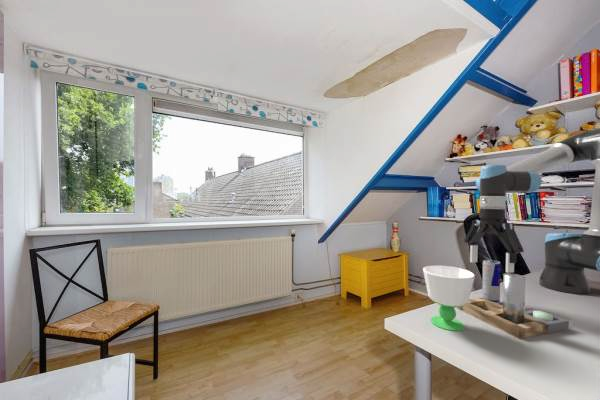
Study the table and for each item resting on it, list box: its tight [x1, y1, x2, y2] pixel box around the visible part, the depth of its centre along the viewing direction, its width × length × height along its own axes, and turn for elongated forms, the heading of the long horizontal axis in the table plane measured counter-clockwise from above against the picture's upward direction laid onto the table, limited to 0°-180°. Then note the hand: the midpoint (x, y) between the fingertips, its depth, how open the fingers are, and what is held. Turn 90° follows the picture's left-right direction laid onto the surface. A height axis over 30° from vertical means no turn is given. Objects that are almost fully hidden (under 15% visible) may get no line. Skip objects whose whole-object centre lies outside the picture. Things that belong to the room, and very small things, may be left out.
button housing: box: [525, 309, 570, 334], centre depth 79 cm, size 8×8×2 cm
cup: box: [422, 265, 476, 332], centre depth 80 cm, size 14×14×16 cm
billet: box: [502, 272, 526, 324], centre depth 78 cm, size 5×5×15 cm
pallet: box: [456, 297, 550, 340], centre depth 82 cm, size 11×20×2 cm, turn 15°
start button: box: [533, 310, 553, 322], centre depth 79 cm, size 4×4×2 cm
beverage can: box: [481, 259, 501, 304], centre depth 96 cm, size 5×5×15 cm
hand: (490, 266), depth 96 cm, fingers open, 13 cm apart
